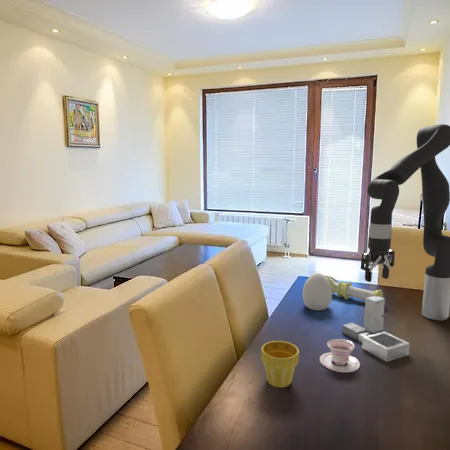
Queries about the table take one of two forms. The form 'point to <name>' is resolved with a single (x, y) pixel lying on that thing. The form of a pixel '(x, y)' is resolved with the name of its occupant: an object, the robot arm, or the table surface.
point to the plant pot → (279, 362)
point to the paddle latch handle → (378, 342)
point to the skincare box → (374, 314)
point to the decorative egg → (317, 292)
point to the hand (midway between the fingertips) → (376, 279)
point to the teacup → (340, 356)
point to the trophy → (351, 290)
